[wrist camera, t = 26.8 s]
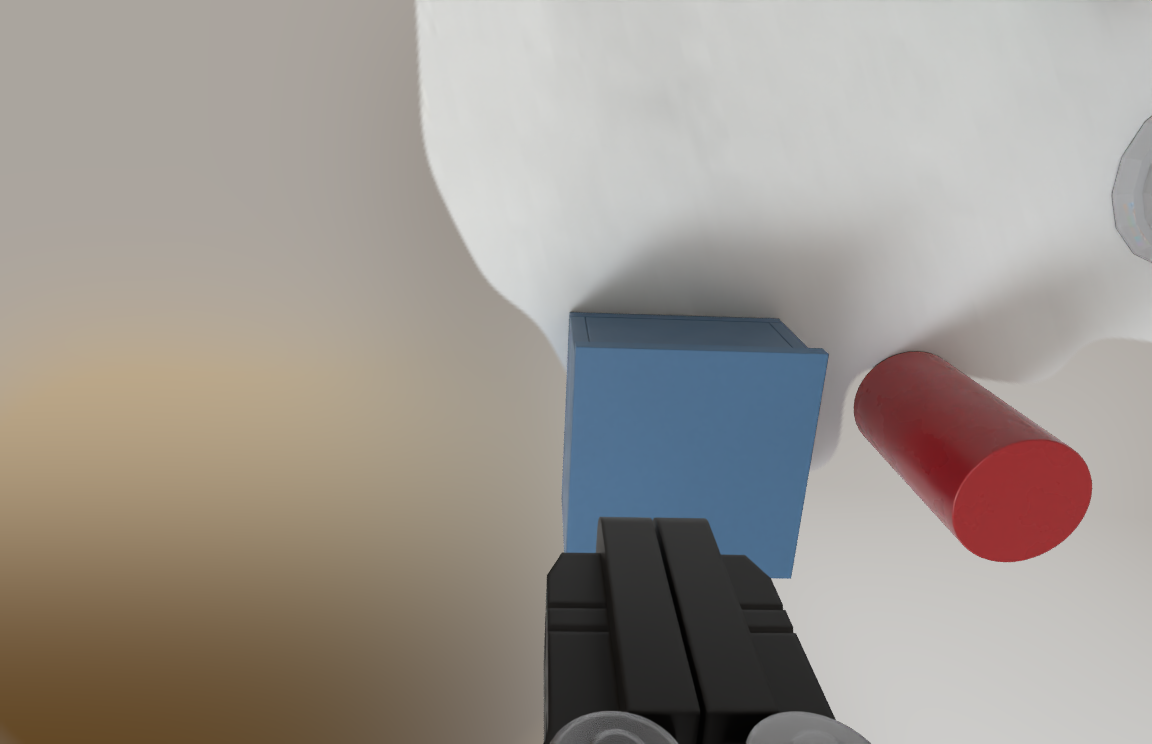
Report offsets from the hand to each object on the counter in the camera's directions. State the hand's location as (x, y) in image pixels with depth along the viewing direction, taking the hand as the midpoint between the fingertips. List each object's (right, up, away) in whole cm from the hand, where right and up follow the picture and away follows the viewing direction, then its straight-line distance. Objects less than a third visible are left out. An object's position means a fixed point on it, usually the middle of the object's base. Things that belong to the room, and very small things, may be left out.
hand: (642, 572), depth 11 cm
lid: (+5, -2, +27) cm, 27 cm away
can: (+18, +1, +34) cm, 38 cm away
